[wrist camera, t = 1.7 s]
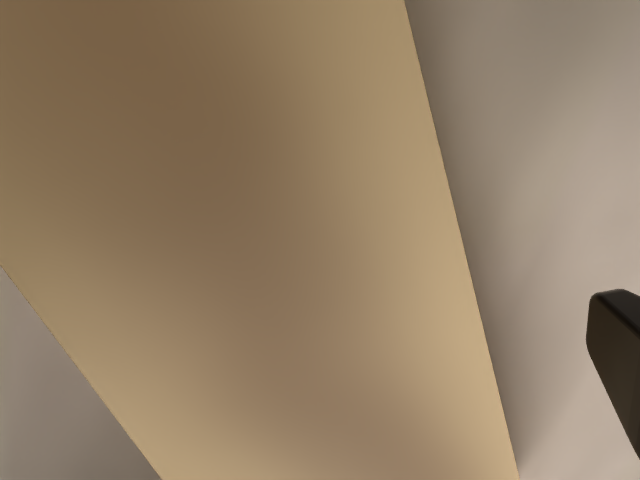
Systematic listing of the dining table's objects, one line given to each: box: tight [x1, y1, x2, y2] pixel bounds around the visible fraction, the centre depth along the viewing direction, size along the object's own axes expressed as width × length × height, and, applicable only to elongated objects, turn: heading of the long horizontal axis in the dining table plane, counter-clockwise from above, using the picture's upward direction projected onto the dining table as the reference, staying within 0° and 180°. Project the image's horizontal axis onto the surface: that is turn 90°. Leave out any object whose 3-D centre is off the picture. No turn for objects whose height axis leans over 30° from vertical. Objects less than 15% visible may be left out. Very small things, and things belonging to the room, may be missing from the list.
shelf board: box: [0, 0, 520, 480], centre depth 11 cm, size 6×22×4 cm, turn 18°
